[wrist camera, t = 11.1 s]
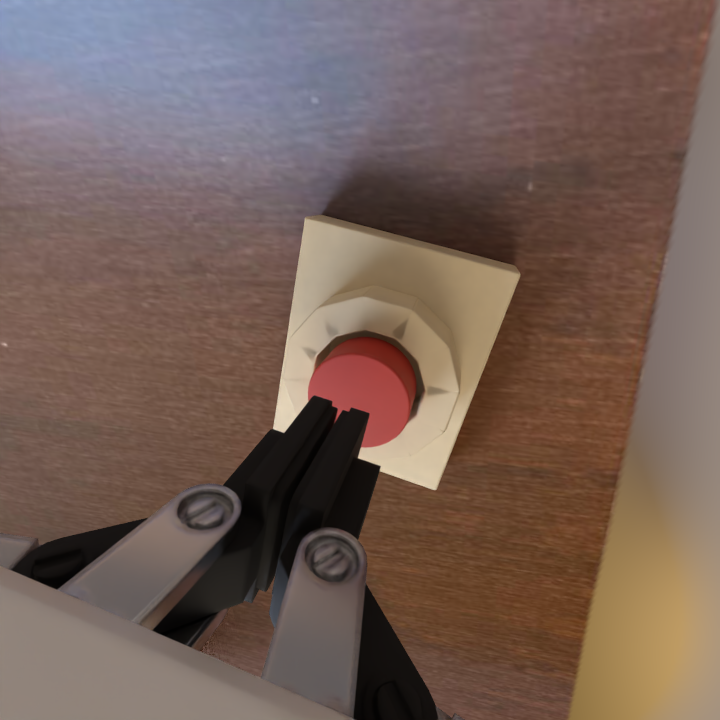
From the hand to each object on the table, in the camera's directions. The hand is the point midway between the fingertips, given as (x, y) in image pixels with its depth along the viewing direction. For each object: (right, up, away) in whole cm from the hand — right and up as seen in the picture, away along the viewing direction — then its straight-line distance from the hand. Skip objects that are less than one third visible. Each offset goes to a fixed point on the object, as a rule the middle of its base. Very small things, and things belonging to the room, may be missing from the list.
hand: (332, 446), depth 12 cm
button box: (+2, +3, +6) cm, 7 cm away
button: (+1, +2, +4) cm, 4 cm away
